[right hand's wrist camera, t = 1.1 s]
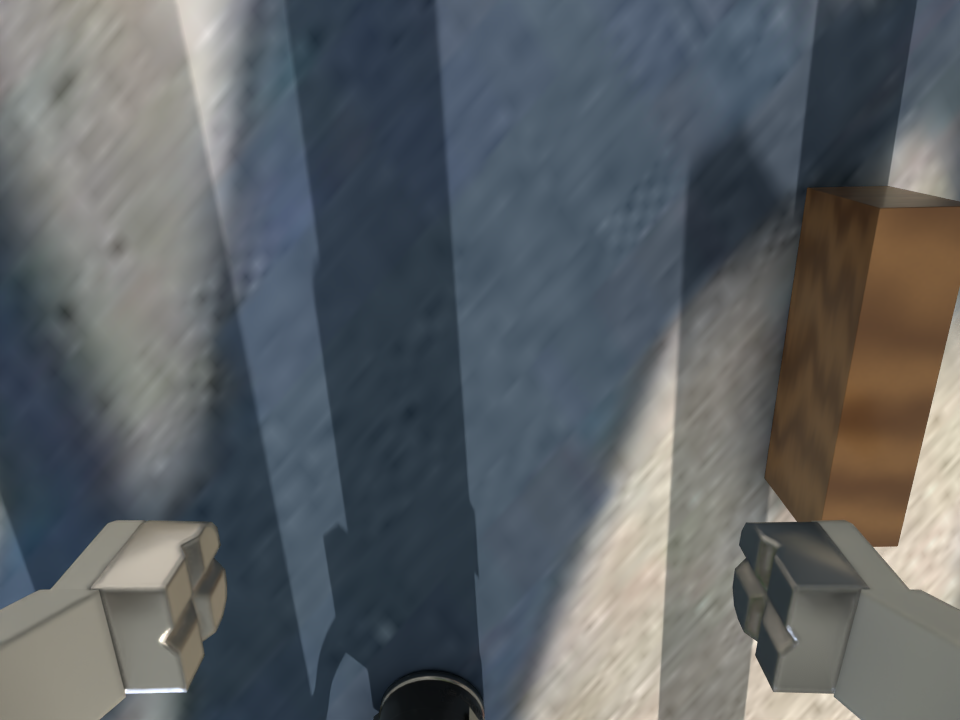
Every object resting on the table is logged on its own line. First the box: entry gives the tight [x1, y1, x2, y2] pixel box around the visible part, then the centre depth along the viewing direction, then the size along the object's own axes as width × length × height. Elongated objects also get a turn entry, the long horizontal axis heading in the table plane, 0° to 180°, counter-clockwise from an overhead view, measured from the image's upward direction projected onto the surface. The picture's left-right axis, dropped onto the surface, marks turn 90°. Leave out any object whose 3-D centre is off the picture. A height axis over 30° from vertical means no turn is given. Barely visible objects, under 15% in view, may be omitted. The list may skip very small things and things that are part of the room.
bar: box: [765, 186, 960, 547], centre depth 45 cm, size 22×5×9 cm, turn 1°
